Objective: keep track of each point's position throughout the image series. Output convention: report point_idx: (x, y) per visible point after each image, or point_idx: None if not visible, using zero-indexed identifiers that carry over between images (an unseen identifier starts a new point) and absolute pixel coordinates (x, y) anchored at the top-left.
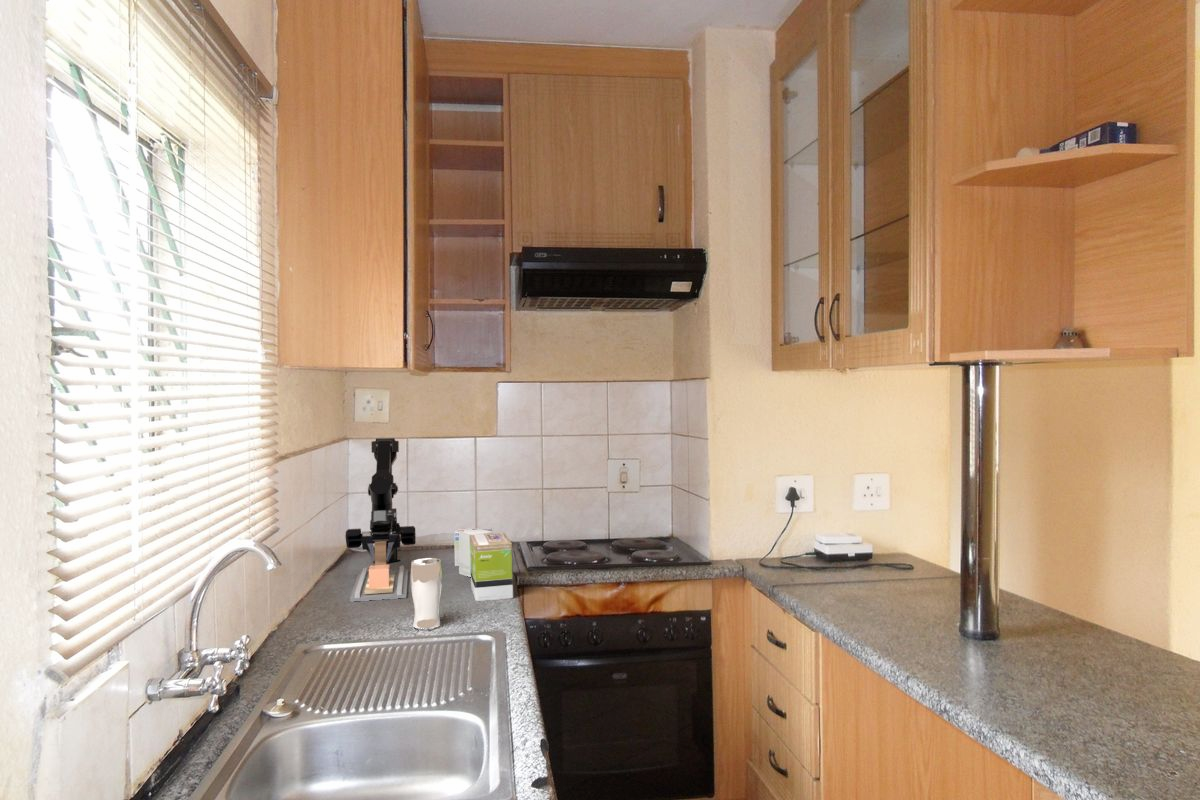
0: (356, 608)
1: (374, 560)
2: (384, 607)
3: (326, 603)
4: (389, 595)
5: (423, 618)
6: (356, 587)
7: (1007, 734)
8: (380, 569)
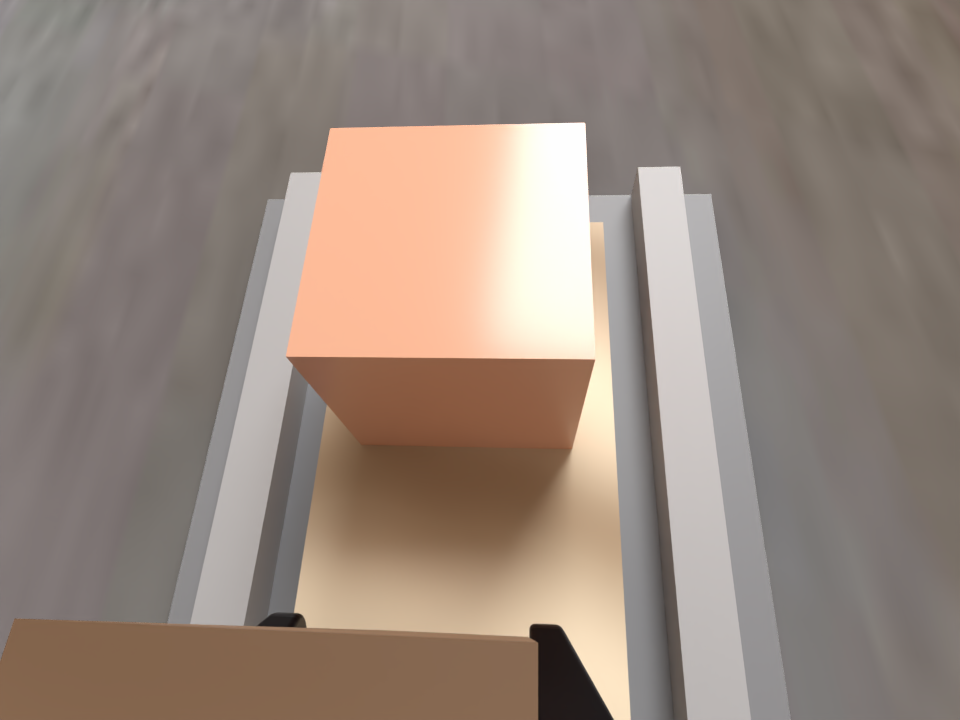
0: (623, 77)
1: (534, 634)
2: (444, 65)
3: (892, 228)
4: None
5: None
6: (736, 584)
7: None
8: (434, 130)
